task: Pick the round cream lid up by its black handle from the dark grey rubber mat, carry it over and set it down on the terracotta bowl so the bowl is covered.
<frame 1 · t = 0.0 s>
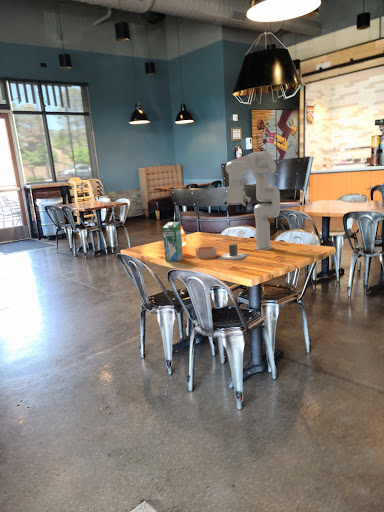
hand: (237, 212, 226), 31 cm above the table, tool pointing down, fingers open, 9 cm apart
bowl: (206, 257, 258), on the table
lid: (233, 256, 250), point 1 cm above the table, touching mat
orange juice: (178, 254, 275), on the table
milk carton: (174, 260, 257), on the table
mat: (233, 257, 251), on the table
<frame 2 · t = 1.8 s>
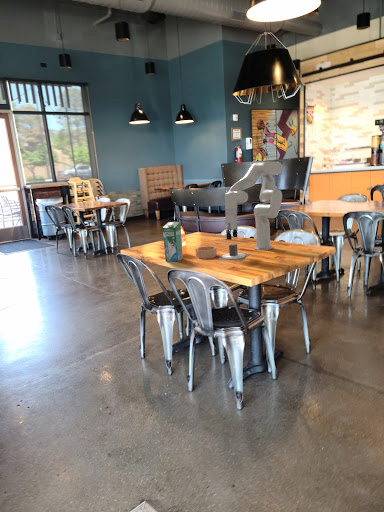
hand: (232, 238, 247), 13 cm above the table, tool pointing down, fingers open, 9 cm apart
nothing on the table moved.
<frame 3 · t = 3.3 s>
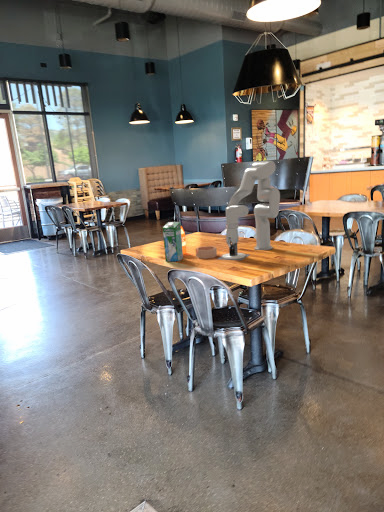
hand: (233, 253, 250), 3 cm above the table, tool pointing down, fingers closed on lid, 4 cm apart
lid: (233, 256, 250), point 1 cm above the table, touching gripper, mat
everything else where it was.
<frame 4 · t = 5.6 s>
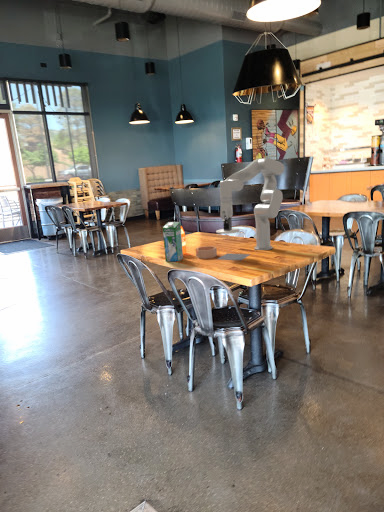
hand: (227, 228, 247), 19 cm above the table, tool pointing down, fingers closed on lid, 4 cm apart
lid: (227, 231, 248), point 17 cm above the table, touching gripper
everything else where it was.
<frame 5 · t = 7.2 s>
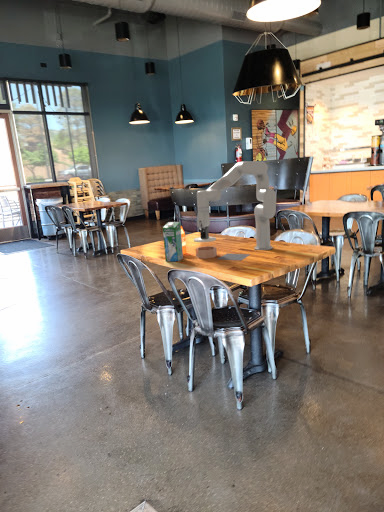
hand: (204, 236, 255), 14 cm above the table, tool pointing down, fingers closed on lid, 4 cm apart
lid: (204, 240, 256), point 12 cm above the table, touching gripper
everything else where it was.
when the fingers open (9 cm above the table, at t = 8.2 s): lid drops 1 cm, resting on bowl.
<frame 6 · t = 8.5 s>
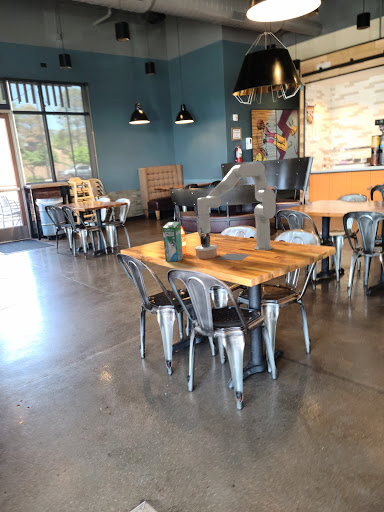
hand: (205, 242, 256), 10 cm above the table, tool pointing down, fingers open, 6 cm apart
lid: (206, 248, 257), point 6 cm above the table, touching bowl
everything else where it was.
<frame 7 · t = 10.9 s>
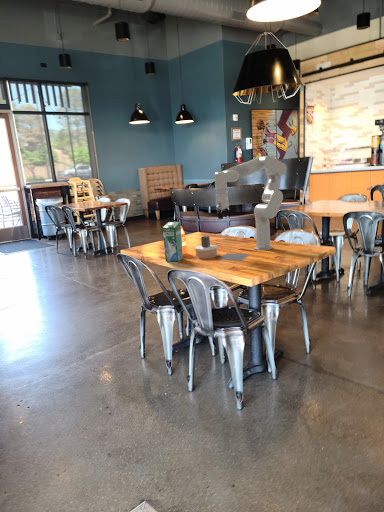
hand: (223, 217, 252), 26 cm above the table, tool pointing down, fingers open, 9 cm apart
nothing on the table moved.
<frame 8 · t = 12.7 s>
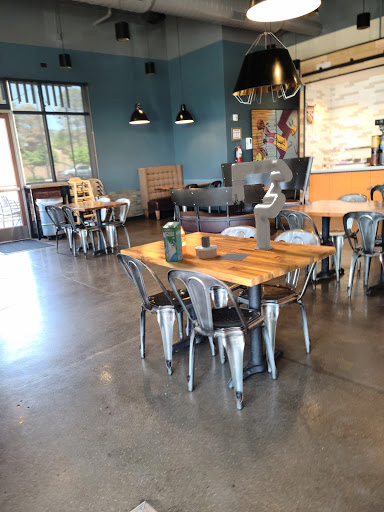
hand: (239, 209, 250), 30 cm above the table, tool pointing down, fingers open, 9 cm apart
nothing on the table moved.
at the end: lid 0.1 cm from the bowl (horizontally); lid point 6.0 cm above the table; lid tilted 0° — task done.
